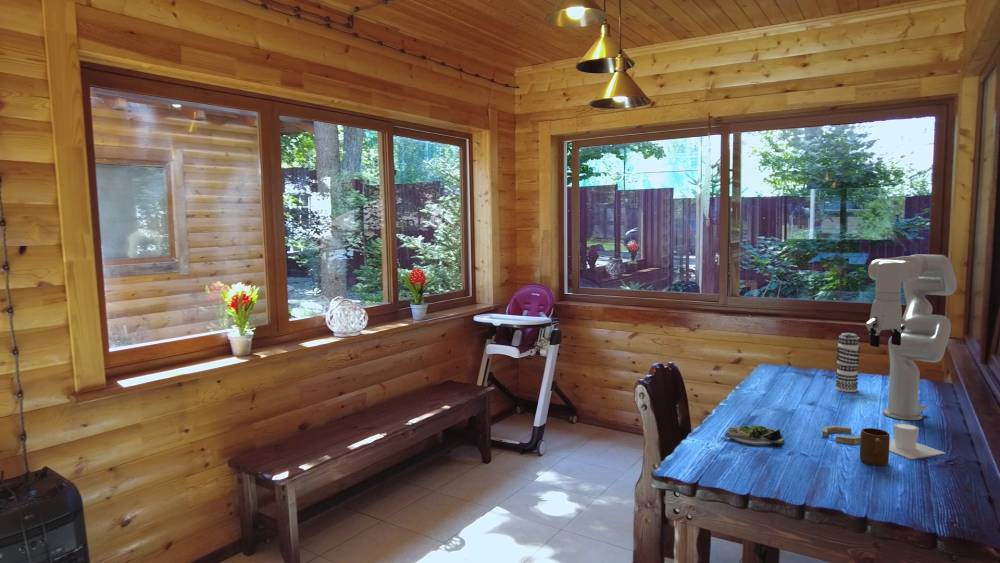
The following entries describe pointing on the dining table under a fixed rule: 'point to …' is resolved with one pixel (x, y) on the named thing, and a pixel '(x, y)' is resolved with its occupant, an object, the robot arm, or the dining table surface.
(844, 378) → the decorative candle
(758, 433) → the salad plate
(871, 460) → the mug
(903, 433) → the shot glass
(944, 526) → the dining table surface
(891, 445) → the rubber mat
